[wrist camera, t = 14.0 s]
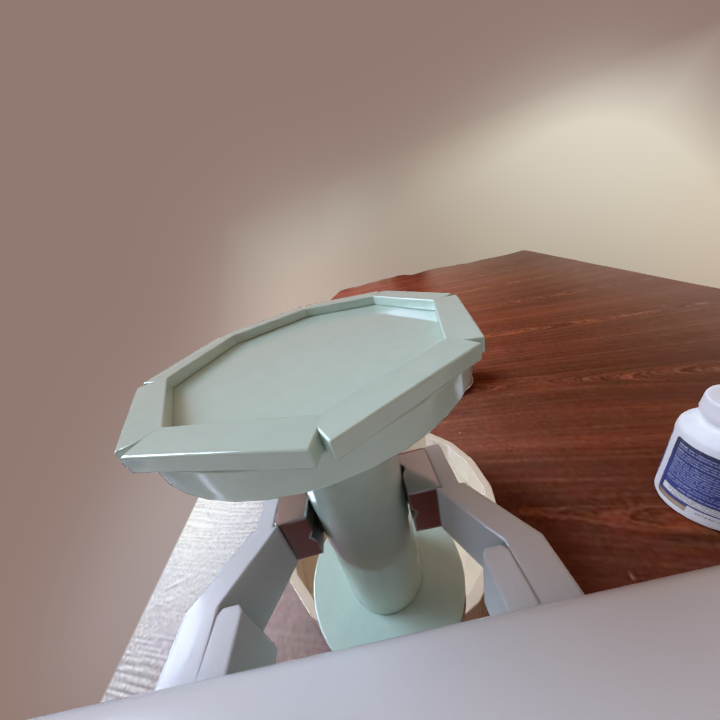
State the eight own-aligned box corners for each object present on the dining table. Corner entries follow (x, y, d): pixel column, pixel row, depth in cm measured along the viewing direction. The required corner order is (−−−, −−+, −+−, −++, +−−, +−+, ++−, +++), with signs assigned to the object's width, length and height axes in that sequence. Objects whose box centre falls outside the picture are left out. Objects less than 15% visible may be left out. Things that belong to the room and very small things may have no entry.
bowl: (273, 658, 18) (239, 624, 16) (333, 465, 32) (320, 432, 30) (539, 710, 14) (548, 674, 11) (474, 462, 28) (472, 423, 25)
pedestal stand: (273, 697, 9) (9, 463, 4) (330, 496, 15) (255, 315, 10) (515, 752, 7) (554, 438, 2) (464, 497, 13) (445, 277, 8)
